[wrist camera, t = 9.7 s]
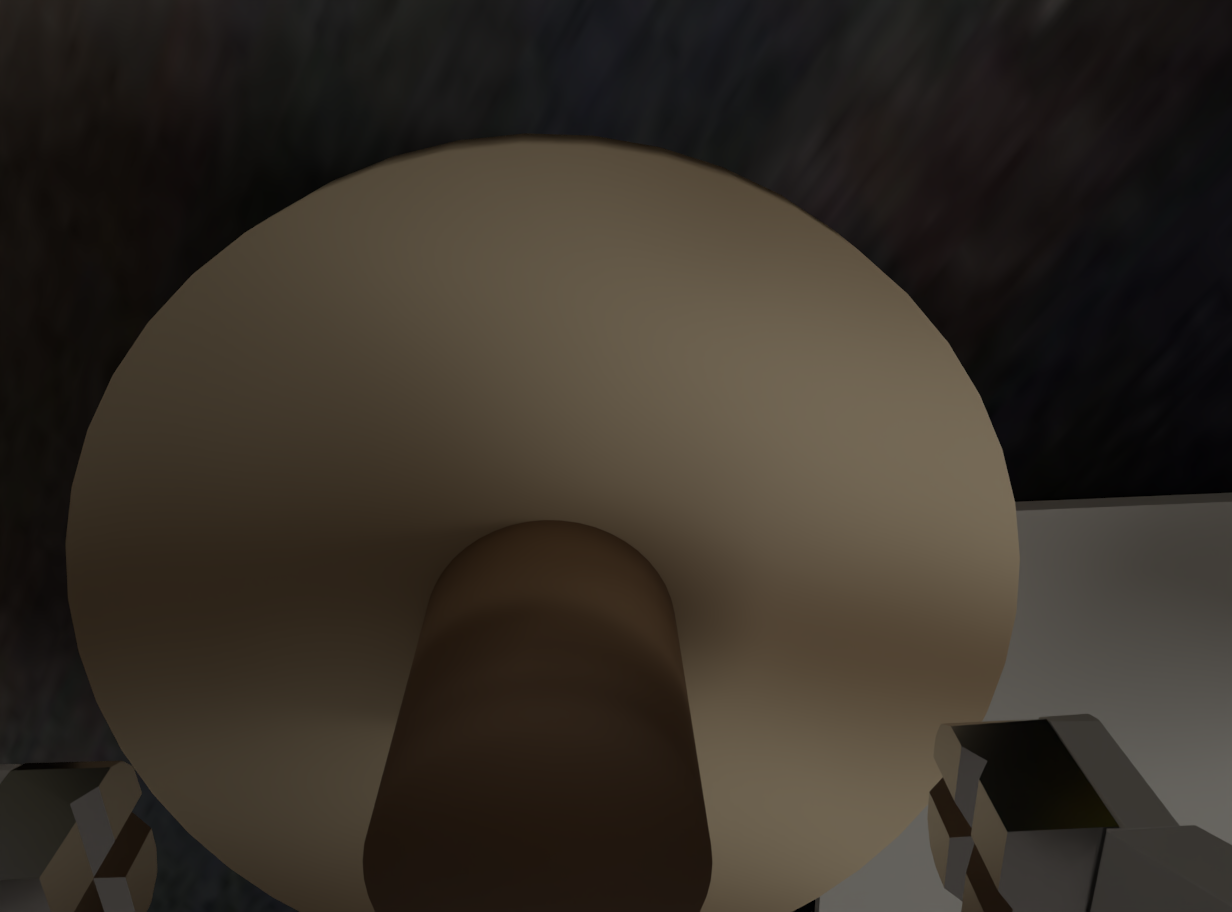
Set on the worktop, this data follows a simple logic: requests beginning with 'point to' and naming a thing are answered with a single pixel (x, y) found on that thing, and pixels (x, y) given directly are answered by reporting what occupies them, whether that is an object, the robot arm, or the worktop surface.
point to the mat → (1106, 663)
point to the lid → (541, 542)
